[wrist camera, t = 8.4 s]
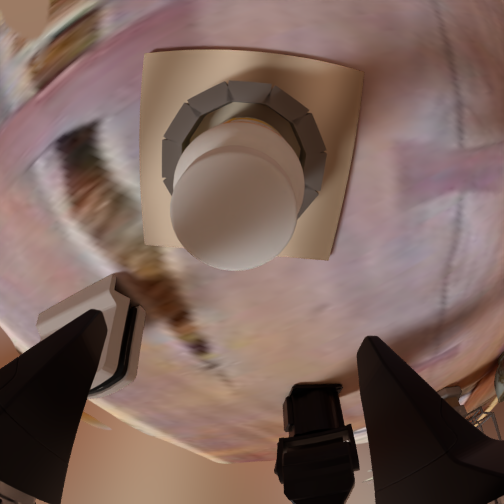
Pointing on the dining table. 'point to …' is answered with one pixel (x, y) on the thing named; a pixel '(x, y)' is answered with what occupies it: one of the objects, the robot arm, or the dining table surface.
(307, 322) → the dining table surface
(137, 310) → the grey piece
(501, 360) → the bowl
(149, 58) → the ring holder
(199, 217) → the supplement bottle
